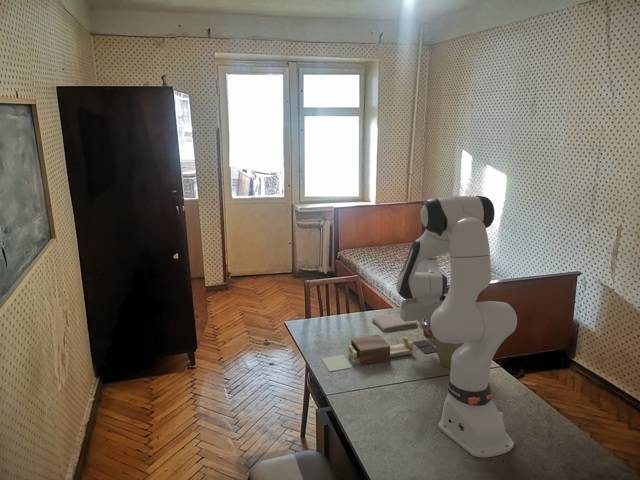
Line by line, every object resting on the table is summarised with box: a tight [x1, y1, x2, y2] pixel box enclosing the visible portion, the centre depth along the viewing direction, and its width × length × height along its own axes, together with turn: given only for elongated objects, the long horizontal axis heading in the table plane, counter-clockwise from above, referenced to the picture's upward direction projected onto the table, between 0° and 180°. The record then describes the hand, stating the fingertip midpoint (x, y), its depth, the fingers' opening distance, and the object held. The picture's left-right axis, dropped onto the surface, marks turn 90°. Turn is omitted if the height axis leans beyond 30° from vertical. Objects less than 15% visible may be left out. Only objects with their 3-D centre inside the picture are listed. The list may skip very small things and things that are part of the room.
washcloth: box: [371, 312, 418, 333], centre depth 210 cm, size 12×18×3 cm, turn 109°
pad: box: [321, 354, 353, 373], centre depth 177 cm, size 10×9×1 cm
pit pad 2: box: [419, 345, 437, 355], centre depth 186 cm, size 5×6×1 cm
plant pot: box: [432, 335, 464, 369], centre depth 174 cm, size 15×15×16 cm
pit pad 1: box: [413, 339, 432, 349], centre depth 191 cm, size 5×6×1 cm
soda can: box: [422, 319, 434, 338], centre depth 198 cm, size 7×7×12 cm
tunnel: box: [350, 334, 391, 367], centre depth 180 cm, size 10×12×6 cm
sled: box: [347, 335, 414, 364], centre depth 182 cm, size 6×25×5 cm, turn 107°
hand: (423, 327), depth 186 cm, fingers closed
